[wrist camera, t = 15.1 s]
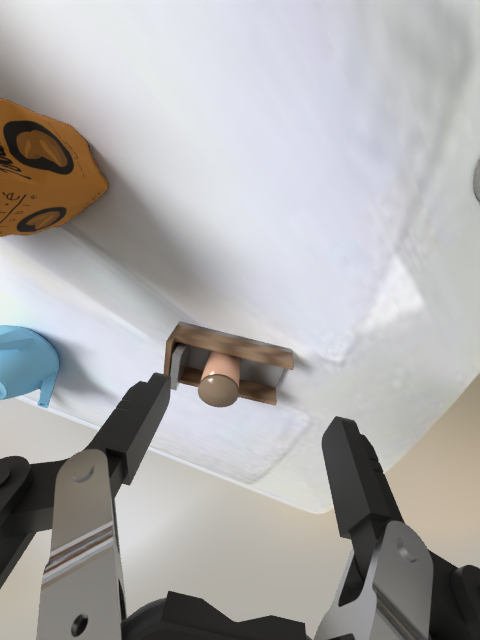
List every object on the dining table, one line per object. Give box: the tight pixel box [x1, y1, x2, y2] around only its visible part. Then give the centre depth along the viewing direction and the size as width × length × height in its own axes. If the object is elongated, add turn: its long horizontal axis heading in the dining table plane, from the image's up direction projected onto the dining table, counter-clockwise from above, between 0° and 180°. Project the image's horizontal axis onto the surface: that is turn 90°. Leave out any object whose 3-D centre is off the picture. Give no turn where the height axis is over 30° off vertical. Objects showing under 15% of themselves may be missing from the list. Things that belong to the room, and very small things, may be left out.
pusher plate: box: [170, 342, 190, 390], centre depth 37 cm, size 1×7×6 cm, turn 166°
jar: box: [198, 350, 241, 407], centre depth 37 cm, size 6×6×8 cm
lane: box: [164, 321, 294, 405], centre depth 38 cm, size 20×10×6 cm, turn 76°
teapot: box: [0, 325, 59, 408], centre depth 40 cm, size 15×15×11 cm
